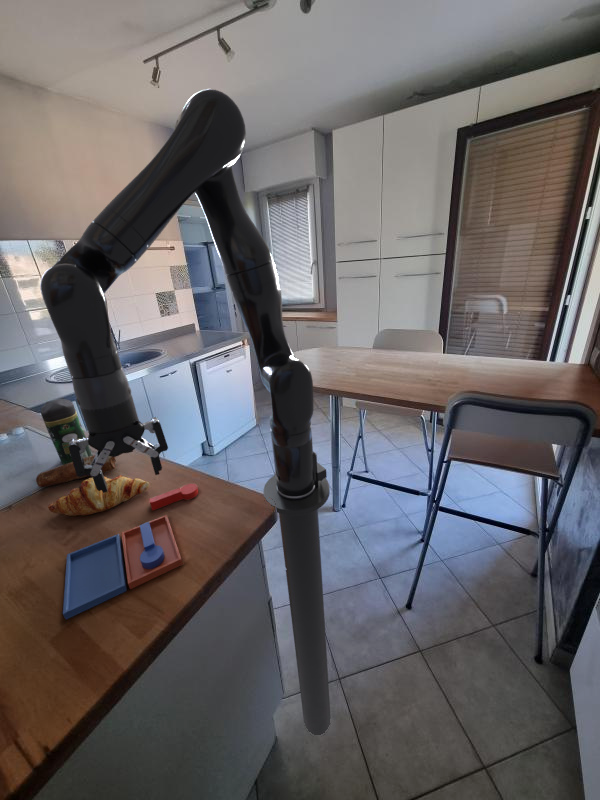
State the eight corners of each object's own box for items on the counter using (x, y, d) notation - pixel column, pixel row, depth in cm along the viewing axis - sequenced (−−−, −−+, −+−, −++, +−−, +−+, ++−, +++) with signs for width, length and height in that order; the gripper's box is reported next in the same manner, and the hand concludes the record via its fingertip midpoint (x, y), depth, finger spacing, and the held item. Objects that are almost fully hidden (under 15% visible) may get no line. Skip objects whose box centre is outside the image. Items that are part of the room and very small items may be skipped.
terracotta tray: (168, 519, 73) (166, 514, 72) (182, 564, 62) (181, 558, 61) (123, 537, 69) (121, 532, 68) (130, 589, 57) (127, 583, 57)
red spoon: (153, 513, 75) (150, 505, 74) (150, 503, 78) (148, 496, 77) (200, 495, 80) (198, 487, 79) (195, 486, 83) (194, 479, 82)
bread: (118, 472, 91) (112, 455, 89) (36, 493, 85) (27, 475, 83) (120, 461, 96) (115, 444, 94) (43, 479, 90) (35, 462, 88)
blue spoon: (136, 535, 68) (133, 527, 68) (156, 527, 70) (154, 519, 69) (143, 573, 60) (140, 564, 59) (166, 562, 62) (163, 553, 61)
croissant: (153, 494, 87) (147, 463, 87) (149, 499, 77) (143, 465, 78) (58, 519, 79) (52, 486, 80) (41, 529, 70) (34, 492, 70)
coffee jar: (60, 457, 101) (36, 401, 93) (89, 448, 105) (69, 393, 98) (63, 471, 93) (38, 412, 86) (95, 460, 98) (73, 402, 90)
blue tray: (120, 538, 68) (118, 533, 68) (127, 590, 57) (124, 585, 57) (69, 559, 64) (66, 554, 64) (65, 619, 53) (62, 614, 53)
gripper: (149, 381, 60) (168, 458, 66) (54, 401, 53) (86, 484, 60) (156, 394, 54) (176, 477, 60) (50, 418, 47) (86, 508, 54)
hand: (131, 481), depth 60 cm, fingers open, 8 cm apart
